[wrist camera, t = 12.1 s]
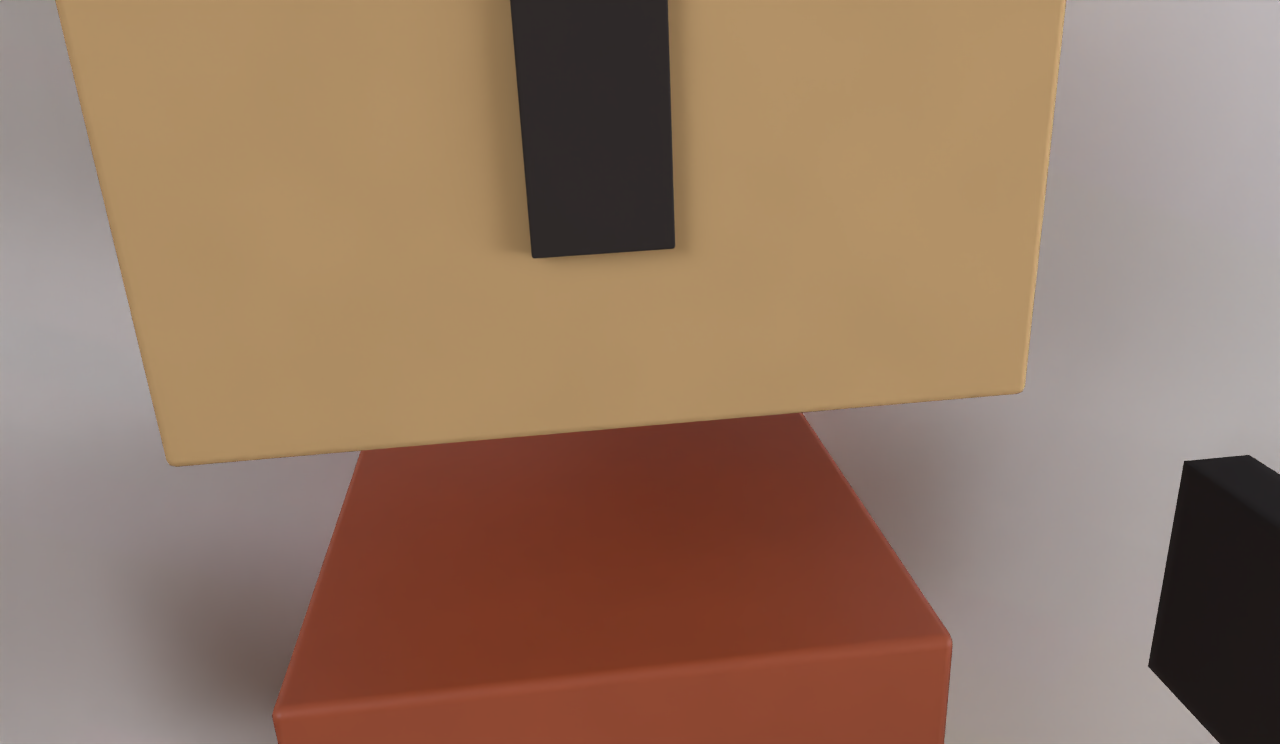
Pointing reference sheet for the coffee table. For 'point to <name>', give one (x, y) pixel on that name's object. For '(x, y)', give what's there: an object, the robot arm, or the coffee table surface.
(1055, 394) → the coffee table surface
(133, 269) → the tan cubes
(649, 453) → the pause symbol cube
